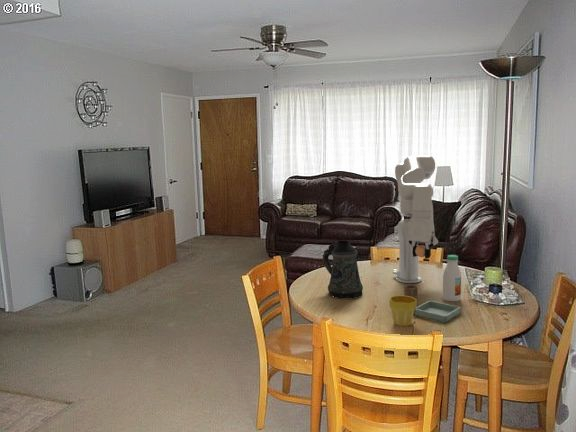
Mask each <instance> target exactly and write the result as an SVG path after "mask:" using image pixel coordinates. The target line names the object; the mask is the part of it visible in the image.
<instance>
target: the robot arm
mask: <svg viewBox="0 0 576 432" xmlns="http://www.w3.org/2000/svg"><path fill="white" fill-rule="evenodd" d="M435 169H436V161H435V158H433V156H432V155H426V154H425V155H411V156H407V157H406V158H404V160H403V162H400V163H397V164H396V165H395V167H394V176H395V180H396V182H397V189H398V194H399V200H400V201H399V203H400V204H399V206H400V208H399V209H400V214H401V216H403V217H410V218H406V219H401V220H400V221H398V223H397V231H398V232H397V234H398V241H399V242H398V245H399V247H398V249H399V252H398V256H399V257H398V259H399V260H398V261H399V262H398V267H399V268H398V269H395V268H394V269H393V270H392V274H393V275H396V276H395V281H397V282H399V283H404V284H416V283H420V282H421V281H422V277H420V276H419V256H417V255H416V253H415V250H416V248H417V247H418V246H419V245H418V243H424V244H425V245H424V246H425V247H426V249H425V256H424V259H426V260H427V259H431V255H432V253H431V252H432V248H433V247H434V246H435V245H437V244H438V243H439V240H438V238H437V237H436V233H435V224H434V205H433V201H432V200H433V199H432V197H433V196H434V187H433V186H432V184H430V183H426V182H425V183H424V180H429V179H430V178H431V177H432V175H433V174H434V173H435V171H436V170H435ZM422 182H423V183H422Z"/></svg>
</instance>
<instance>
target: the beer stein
mask: <svg viewBox="0 0 576 432" xmlns="http://www.w3.org/2000/svg"><path fill="white" fill-rule="evenodd" d="M358 253H359V251H358V250H357V248H355V246H353V245H352V244H351V243H350V242H349V241H348V240H338V241H337V242H335V243H330V245H329V246H328V249H325V250H324V251H323V255H322V262H323V265H324V268H325V269H326V271H327V272H328V273H329V274H330V279H329V283H328V284H327V285H328V286H327V289H328V290H327V291H328V294H330V295H331V296H330V295H329V296H330V297H332V296H334V297H333V298H335V297H338V298H337V299H340V298H352V299H356V297H357V298H360V297H361V296H362V295H363V290H364V289H363V288H364V287H363V284H362V282H361V277H360V272H359V267H358V260H357V256H358ZM330 256H332V263H330V260H329V257H330ZM359 296H360V297H359Z"/></svg>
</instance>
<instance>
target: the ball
mask: <svg viewBox="0 0 576 432" xmlns="http://www.w3.org/2000/svg"><path fill="white" fill-rule="evenodd" d="M425 249H426V245H422V244H421V245H418V247H417V248H416V250H415V253H416V255H417V256H418V258H425Z"/></svg>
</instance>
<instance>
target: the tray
mask: <svg viewBox="0 0 576 432" xmlns="http://www.w3.org/2000/svg"><path fill="white" fill-rule="evenodd" d="M459 314H460V315H461V314H462V307H461V306H458V305H454V304H448V303H445V302H440V301H434V300H428V301H425V302H423V303H422V304H419V305H418V306H417V307H416V309H415V310H414V314H413V317H414V316H415V317H418V318H419V317H420V318H422V319H427V320H431V321H433V322H438V323H442V324H447V323H449V322H450V321H452V320H454V319H455V318H456V316H457V317H458V316H460V315H459Z"/></svg>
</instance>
